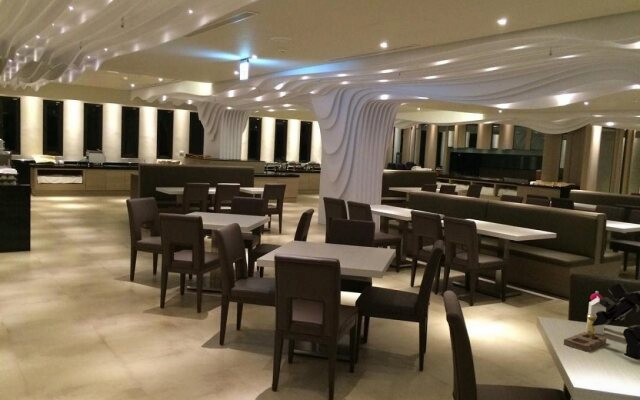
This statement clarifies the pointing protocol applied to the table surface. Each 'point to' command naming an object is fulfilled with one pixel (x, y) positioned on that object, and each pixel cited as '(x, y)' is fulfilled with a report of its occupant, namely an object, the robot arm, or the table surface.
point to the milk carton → (593, 309)
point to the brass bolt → (591, 327)
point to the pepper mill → (595, 296)
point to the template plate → (584, 342)
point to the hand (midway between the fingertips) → (597, 323)
